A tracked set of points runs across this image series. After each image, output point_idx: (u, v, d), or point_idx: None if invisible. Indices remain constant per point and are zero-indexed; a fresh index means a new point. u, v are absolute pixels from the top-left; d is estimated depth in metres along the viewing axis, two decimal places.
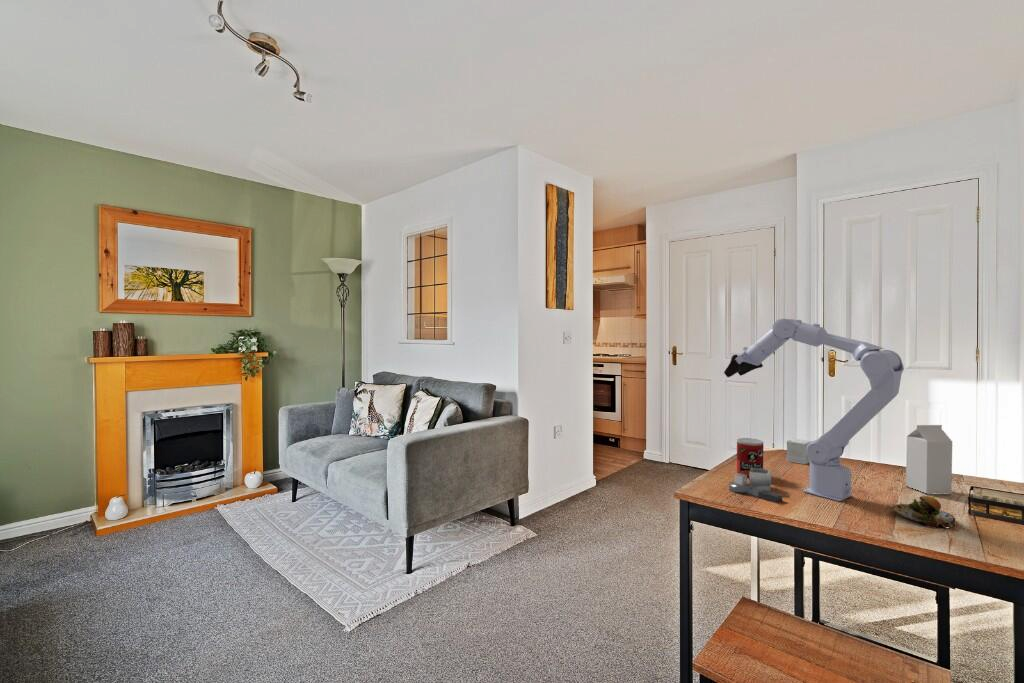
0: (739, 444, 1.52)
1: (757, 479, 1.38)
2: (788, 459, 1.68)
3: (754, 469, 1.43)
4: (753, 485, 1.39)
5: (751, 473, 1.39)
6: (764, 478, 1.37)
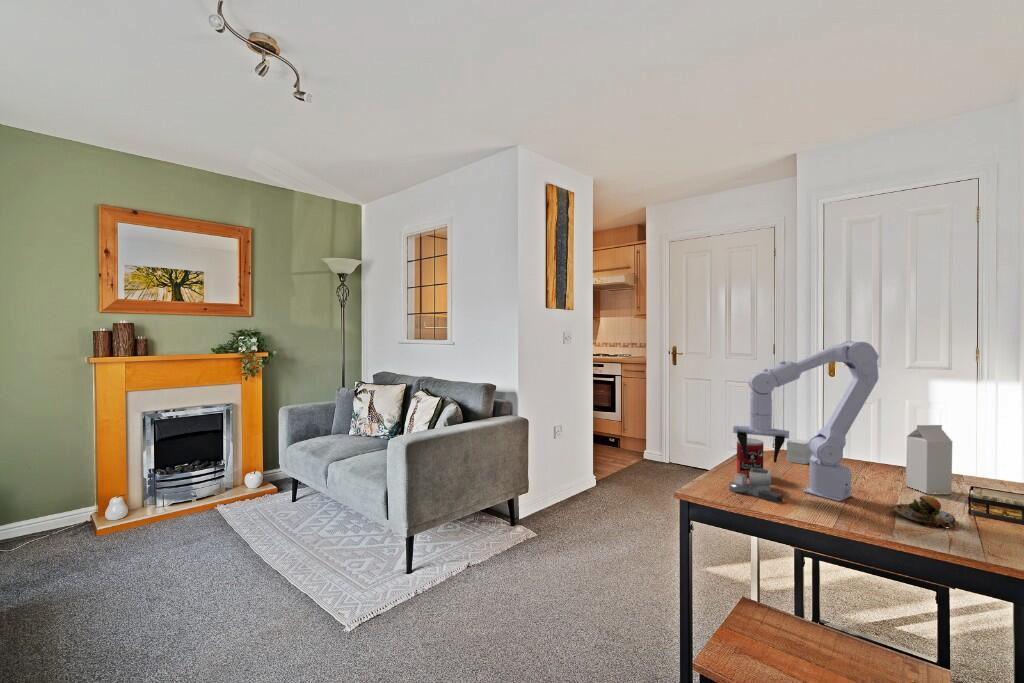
0: (739, 444, 1.52)
1: (757, 479, 1.38)
2: (788, 459, 1.68)
3: (754, 469, 1.43)
4: (753, 485, 1.39)
5: (751, 473, 1.39)
6: (764, 478, 1.37)
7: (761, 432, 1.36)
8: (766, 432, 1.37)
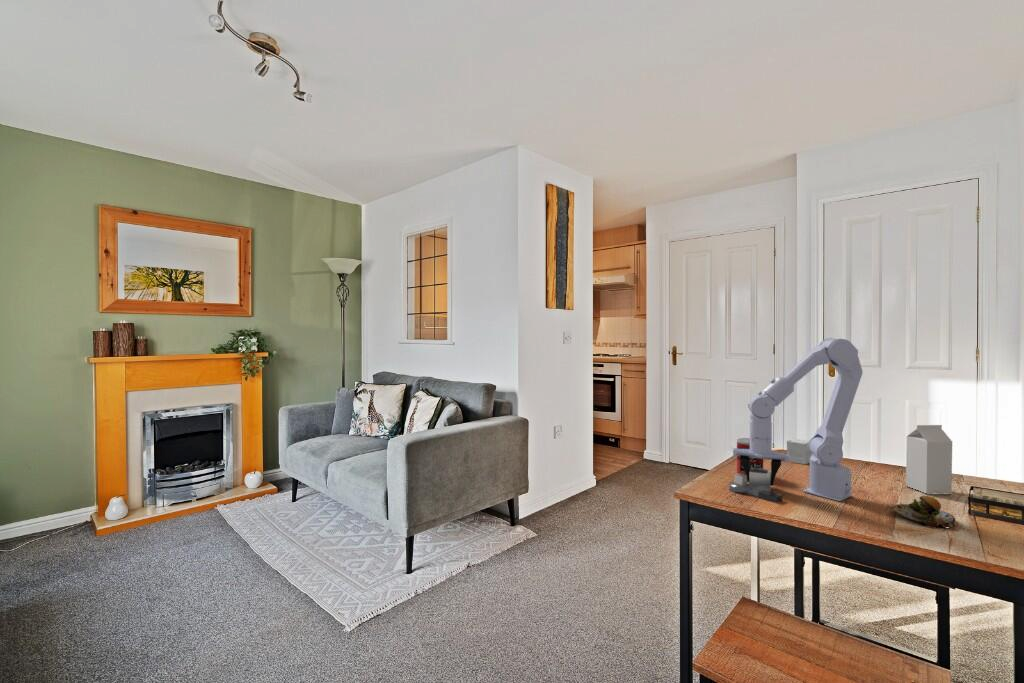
0: (739, 444, 1.52)
1: (757, 479, 1.38)
2: None
3: (754, 469, 1.43)
4: (753, 485, 1.39)
5: (751, 473, 1.39)
6: (764, 478, 1.37)
7: (761, 456, 1.37)
8: (766, 456, 1.37)
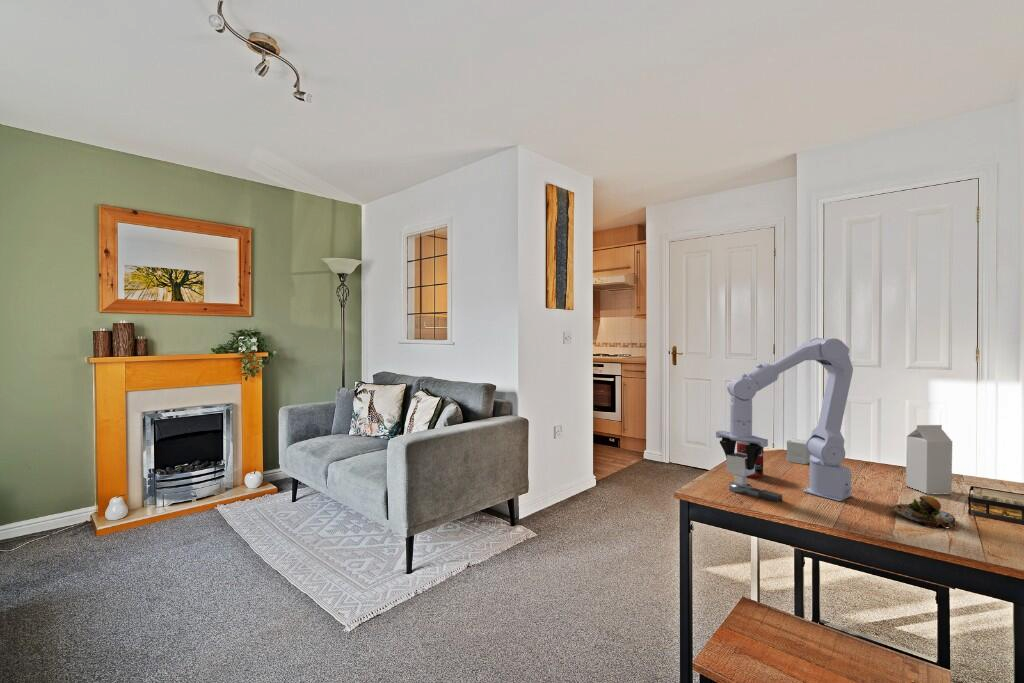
0: (739, 444, 1.52)
1: (733, 462, 1.37)
2: (788, 459, 1.68)
3: (739, 454, 1.40)
4: (730, 468, 1.38)
5: (728, 456, 1.38)
6: (739, 462, 1.35)
7: (734, 438, 1.35)
8: (741, 438, 1.35)
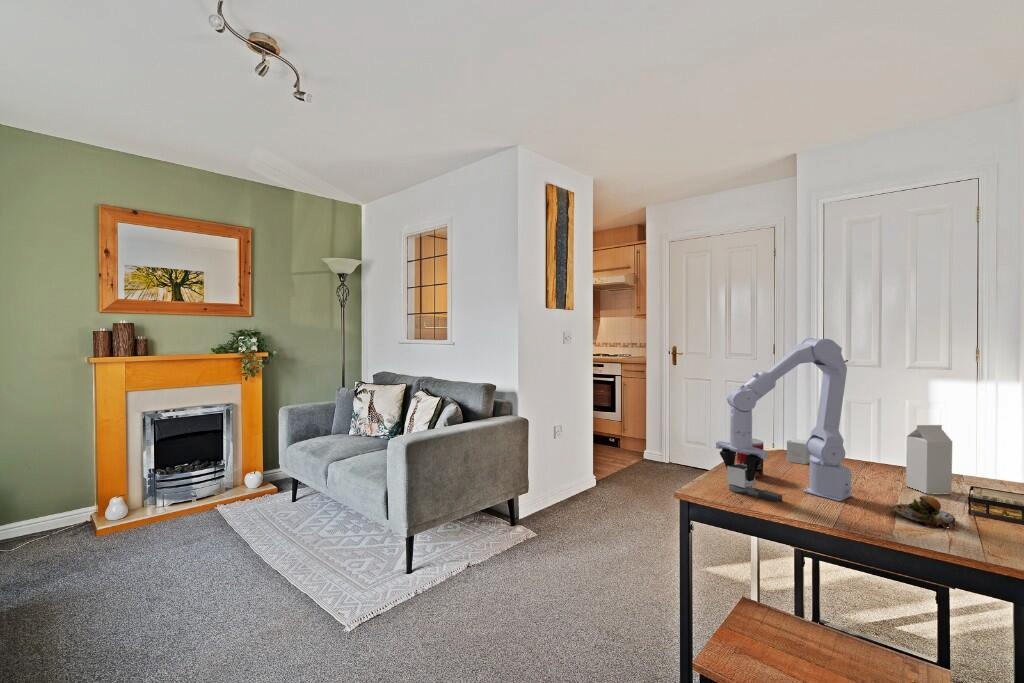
0: None
1: (733, 474, 1.37)
2: (788, 459, 1.68)
3: (739, 465, 1.41)
4: (730, 479, 1.38)
5: (728, 467, 1.38)
6: (740, 473, 1.36)
7: (734, 449, 1.35)
8: (741, 450, 1.35)
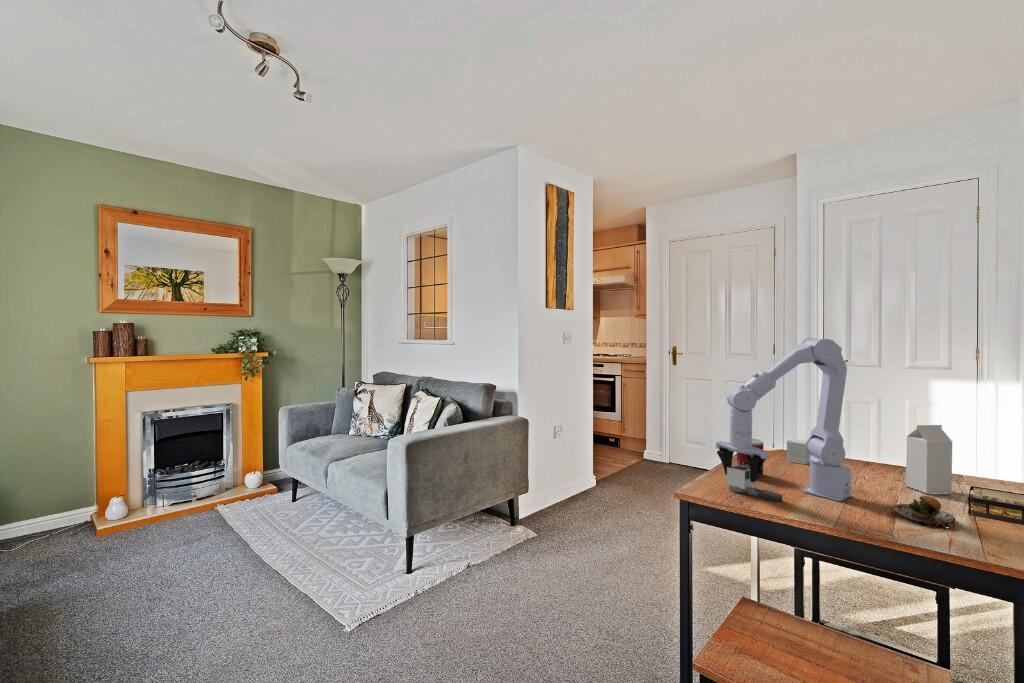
0: None
1: (733, 475, 1.37)
2: (788, 459, 1.68)
3: (739, 466, 1.41)
4: (730, 481, 1.38)
5: (728, 468, 1.38)
6: (740, 474, 1.36)
7: (734, 449, 1.35)
8: (741, 450, 1.35)
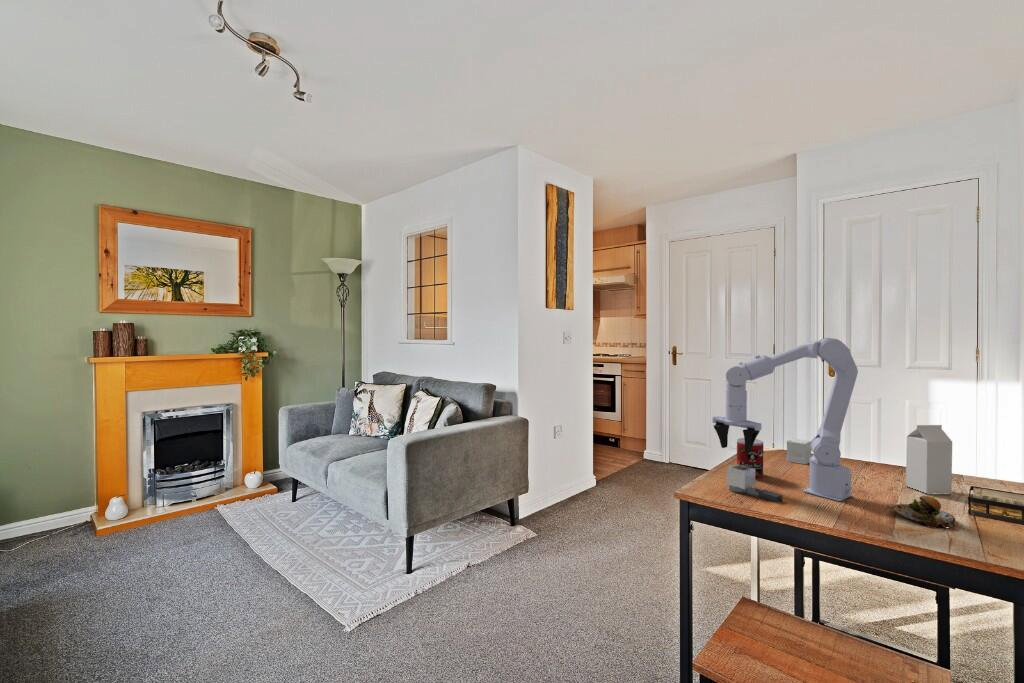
0: (739, 444, 1.52)
1: (733, 475, 1.37)
2: (788, 459, 1.68)
3: (739, 466, 1.41)
4: (730, 481, 1.38)
5: (728, 468, 1.38)
6: (740, 474, 1.36)
7: (730, 422, 1.43)
8: (736, 423, 1.42)
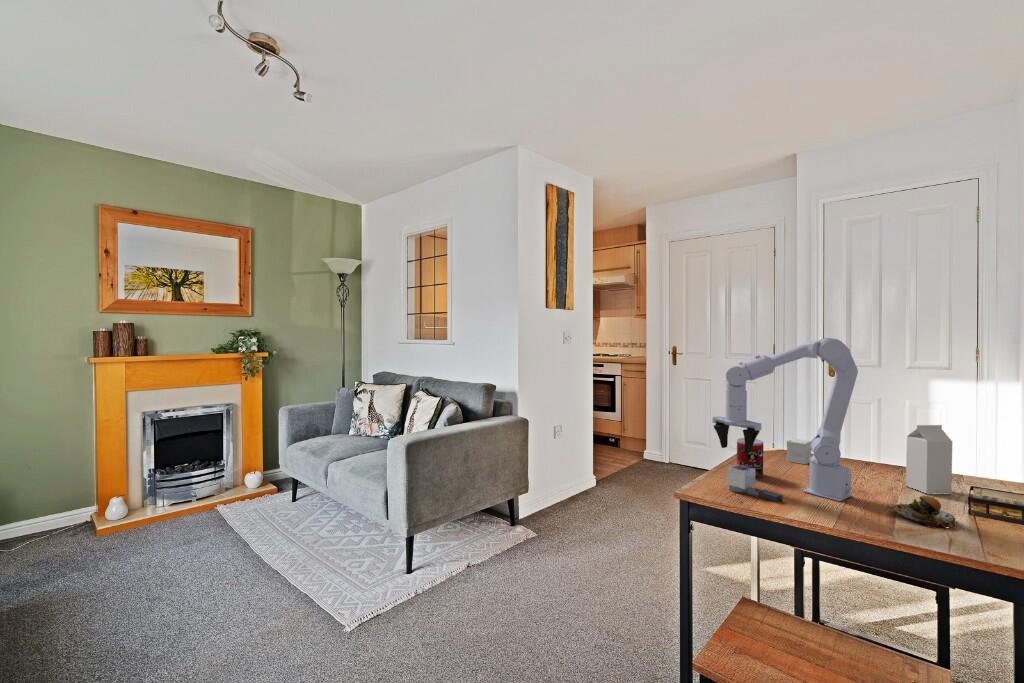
0: (739, 444, 1.52)
1: (733, 475, 1.37)
2: (788, 459, 1.68)
3: (739, 466, 1.41)
4: (730, 481, 1.38)
5: (728, 468, 1.38)
6: (740, 474, 1.36)
7: (730, 422, 1.43)
8: (736, 423, 1.42)
